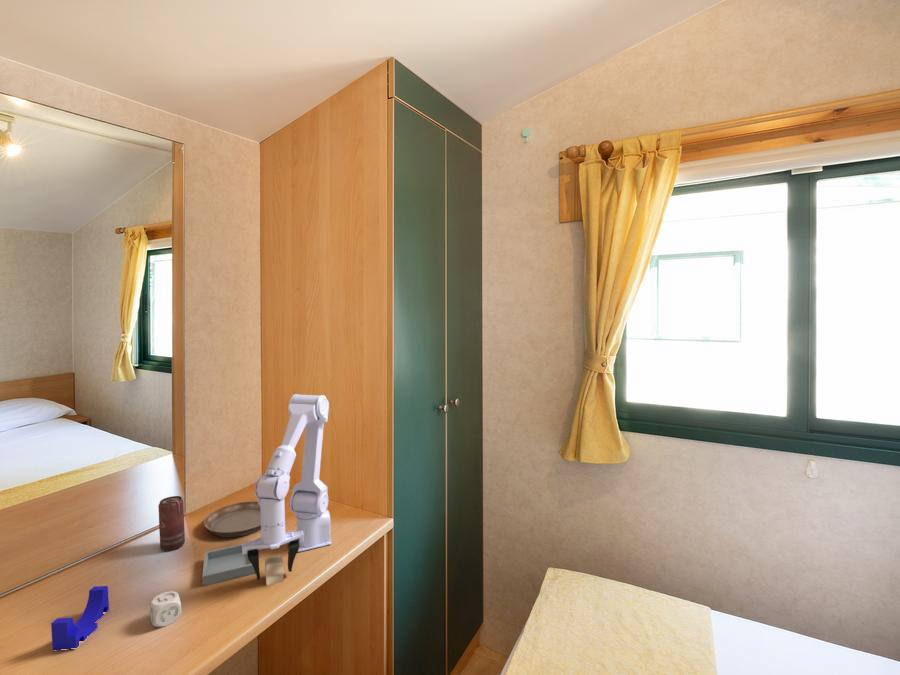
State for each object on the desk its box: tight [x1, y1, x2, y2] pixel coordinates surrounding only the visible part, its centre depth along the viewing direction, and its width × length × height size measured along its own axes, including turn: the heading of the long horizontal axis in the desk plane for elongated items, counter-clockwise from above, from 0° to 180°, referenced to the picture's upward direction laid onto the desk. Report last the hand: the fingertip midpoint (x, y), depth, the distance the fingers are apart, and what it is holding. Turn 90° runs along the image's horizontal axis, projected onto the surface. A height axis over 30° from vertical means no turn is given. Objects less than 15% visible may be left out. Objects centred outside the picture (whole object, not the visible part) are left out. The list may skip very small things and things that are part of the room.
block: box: [264, 554, 285, 586], centre depth 113 cm, size 4×4×5 cm
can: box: [158, 495, 186, 552], centre depth 128 cm, size 6×6×14 cm
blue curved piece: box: [50, 585, 110, 651], centre depth 95 cm, size 12×4×6 cm, turn 5°
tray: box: [201, 543, 256, 587], centre depth 118 cm, size 13×13×2 cm
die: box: [149, 590, 182, 628], centre depth 98 cm, size 5×5×5 cm
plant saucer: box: [203, 500, 261, 538], centre depth 142 cm, size 21×21×3 cm
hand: (274, 573), depth 113 cm, fingers open, 7 cm apart
